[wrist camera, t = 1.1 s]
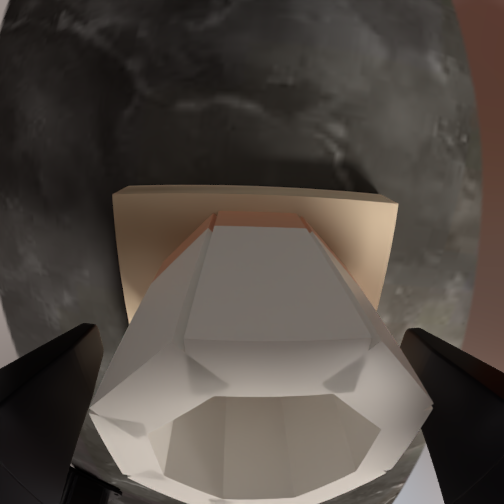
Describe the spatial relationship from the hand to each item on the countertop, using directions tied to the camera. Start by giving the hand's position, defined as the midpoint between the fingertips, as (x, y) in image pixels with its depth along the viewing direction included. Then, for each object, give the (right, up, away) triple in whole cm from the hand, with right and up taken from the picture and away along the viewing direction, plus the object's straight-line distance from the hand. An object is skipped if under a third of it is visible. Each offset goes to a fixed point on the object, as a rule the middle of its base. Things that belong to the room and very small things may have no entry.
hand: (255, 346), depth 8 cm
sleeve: (0, +1, +2) cm, 2 cm away
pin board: (0, -5, +6) cm, 7 cm away
